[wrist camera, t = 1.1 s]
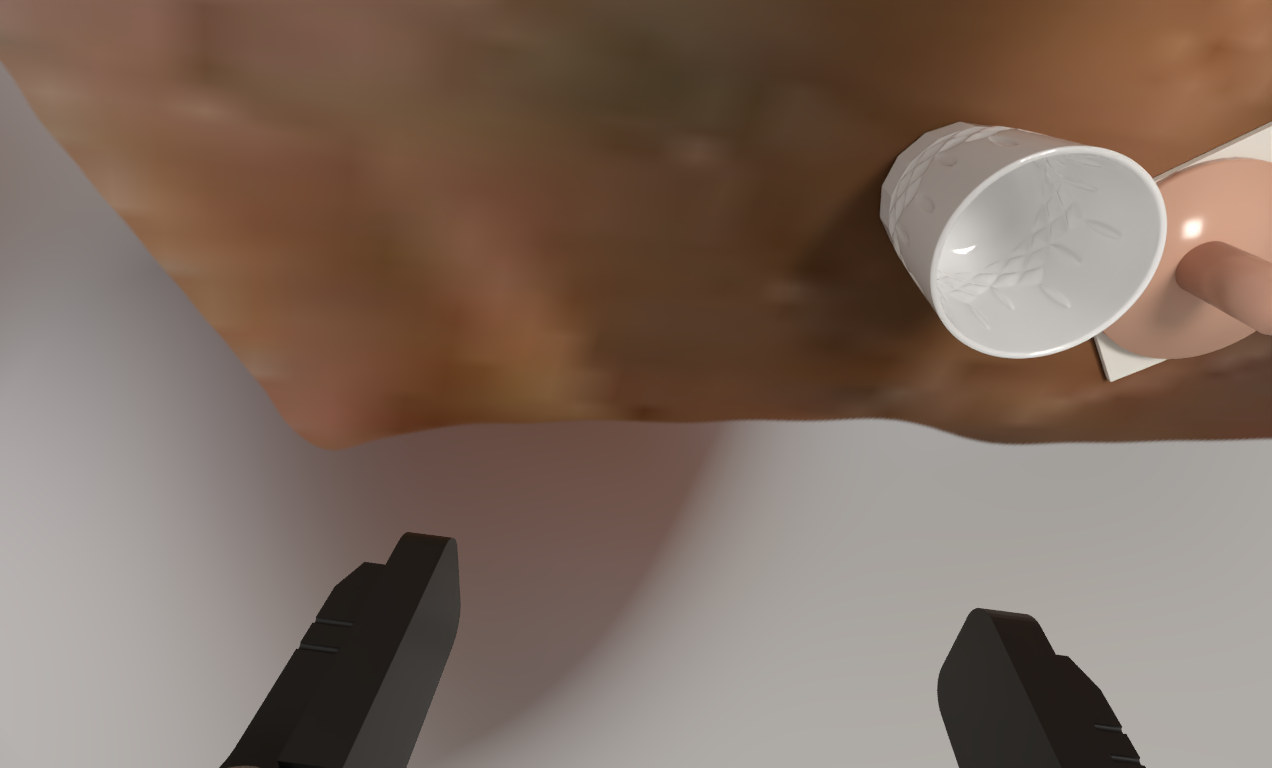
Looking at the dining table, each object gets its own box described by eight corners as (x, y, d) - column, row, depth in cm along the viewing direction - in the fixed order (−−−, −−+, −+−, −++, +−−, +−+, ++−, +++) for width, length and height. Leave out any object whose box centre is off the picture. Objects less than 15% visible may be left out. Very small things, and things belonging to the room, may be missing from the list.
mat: (1290, 112, 30) (1297, 113, 29) (1317, 293, 34) (1323, 296, 33) (1057, 223, 33) (1061, 225, 32) (1106, 378, 37) (1110, 381, 36)
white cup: (840, 166, 32) (897, 223, 23) (1006, 72, 30) (1138, 97, 21) (901, 297, 35) (972, 391, 27) (1056, 221, 33) (1189, 298, 24)
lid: (1297, 113, 29) (1424, 134, 24) (1323, 296, 33) (1437, 347, 28) (1061, 225, 32) (1130, 265, 27) (1110, 381, 36) (1179, 441, 31)
